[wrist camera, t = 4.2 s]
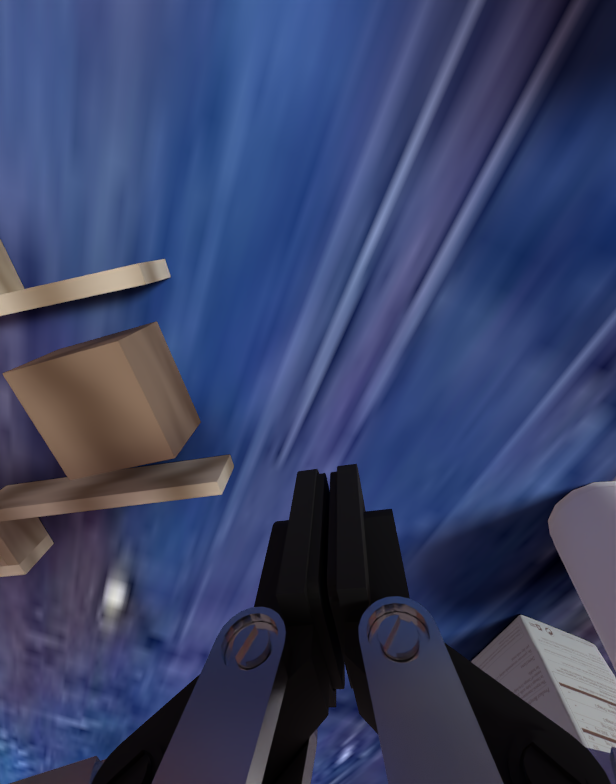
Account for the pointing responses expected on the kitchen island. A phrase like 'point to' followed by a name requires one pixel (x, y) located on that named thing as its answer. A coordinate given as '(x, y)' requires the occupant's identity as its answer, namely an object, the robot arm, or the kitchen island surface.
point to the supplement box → (556, 678)
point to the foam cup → (590, 552)
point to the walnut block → (108, 402)
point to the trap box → (107, 490)
